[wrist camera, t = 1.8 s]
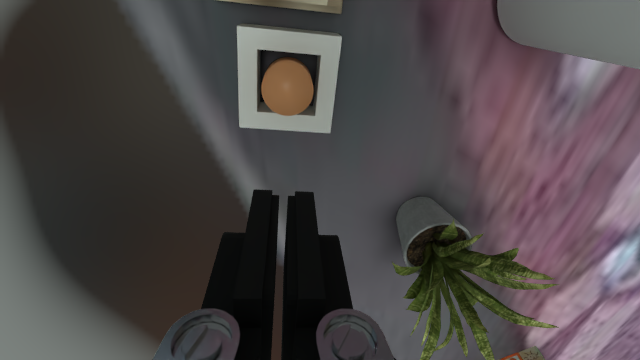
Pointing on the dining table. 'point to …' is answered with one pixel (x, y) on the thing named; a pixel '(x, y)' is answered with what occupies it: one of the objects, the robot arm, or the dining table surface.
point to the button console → (295, 42)
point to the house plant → (455, 274)
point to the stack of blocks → (526, 355)
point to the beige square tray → (299, 4)
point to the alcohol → (576, 27)
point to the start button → (287, 86)
